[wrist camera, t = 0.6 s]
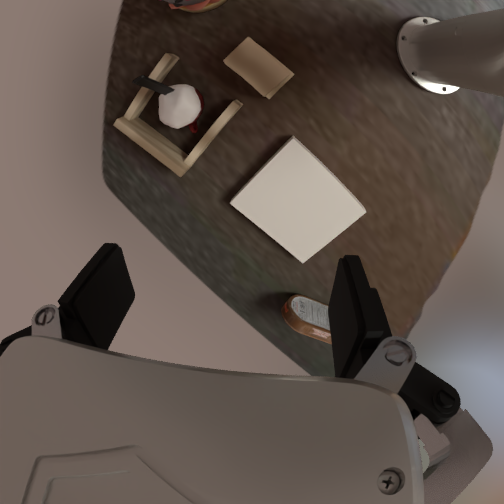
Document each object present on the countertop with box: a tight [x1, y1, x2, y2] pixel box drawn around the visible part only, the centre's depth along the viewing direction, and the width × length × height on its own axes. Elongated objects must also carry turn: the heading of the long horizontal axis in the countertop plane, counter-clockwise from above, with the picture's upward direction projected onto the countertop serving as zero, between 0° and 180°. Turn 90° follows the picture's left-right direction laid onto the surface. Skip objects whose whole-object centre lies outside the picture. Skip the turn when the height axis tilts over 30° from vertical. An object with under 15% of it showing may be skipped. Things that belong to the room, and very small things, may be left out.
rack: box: [113, 53, 243, 177], centre depth 35 cm, size 13×13×5 cm
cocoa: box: [132, 75, 204, 133], centre depth 32 cm, size 10×6×12 cm, turn 179°
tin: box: [282, 294, 332, 344], centre depth 53 cm, size 15×3×8 cm, turn 66°
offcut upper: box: [223, 37, 291, 97], centre depth 30 cm, size 5×7×2 cm, turn 46°
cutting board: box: [230, 136, 366, 263], centre depth 43 cm, size 14×16×2 cm
